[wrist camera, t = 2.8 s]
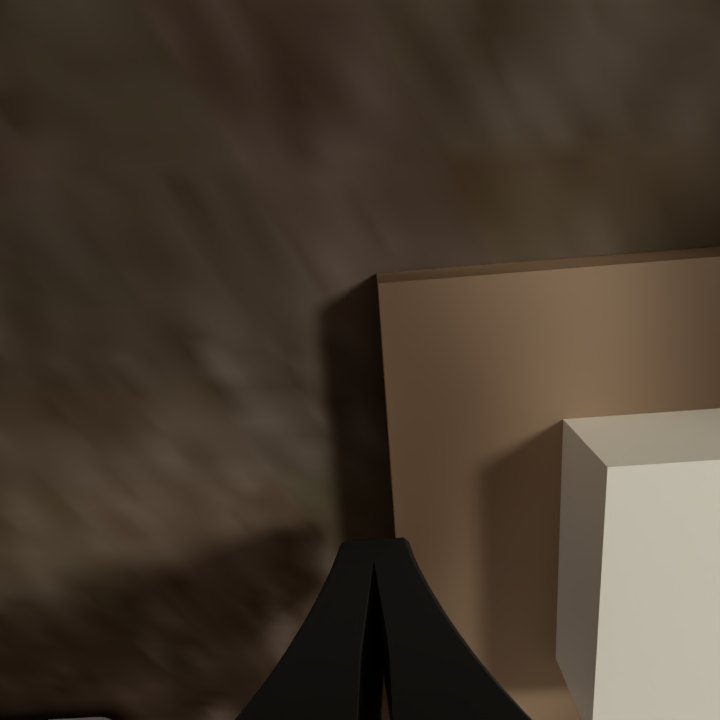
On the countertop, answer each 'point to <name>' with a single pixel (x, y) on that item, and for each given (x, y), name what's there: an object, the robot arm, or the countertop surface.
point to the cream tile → (641, 566)
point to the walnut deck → (526, 423)
